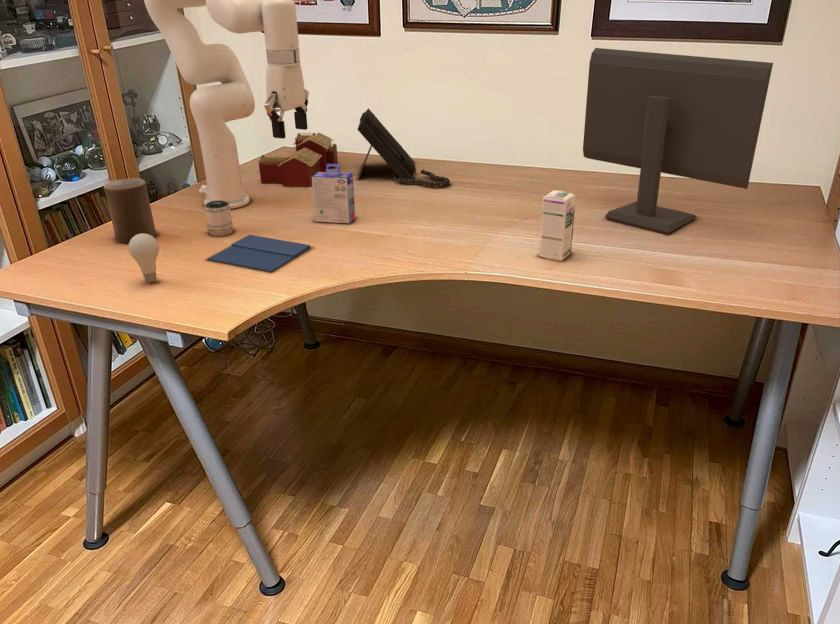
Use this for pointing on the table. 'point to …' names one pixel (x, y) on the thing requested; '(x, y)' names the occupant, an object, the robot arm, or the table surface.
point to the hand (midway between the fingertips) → (290, 133)
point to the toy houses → (299, 161)
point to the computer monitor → (673, 123)
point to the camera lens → (218, 218)
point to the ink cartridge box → (333, 196)
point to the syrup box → (557, 225)
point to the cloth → (260, 253)
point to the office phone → (393, 152)
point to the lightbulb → (145, 254)
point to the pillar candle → (129, 208)
